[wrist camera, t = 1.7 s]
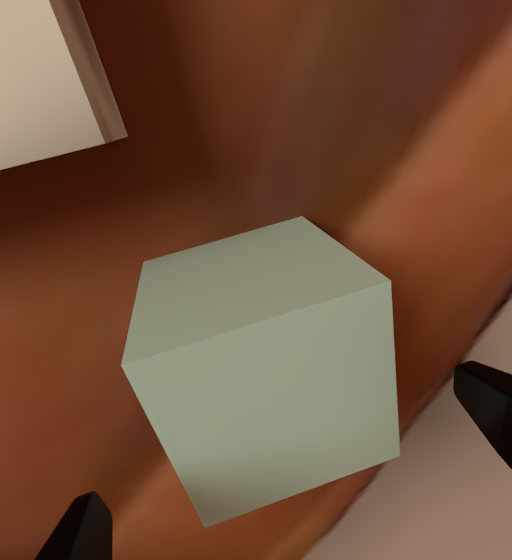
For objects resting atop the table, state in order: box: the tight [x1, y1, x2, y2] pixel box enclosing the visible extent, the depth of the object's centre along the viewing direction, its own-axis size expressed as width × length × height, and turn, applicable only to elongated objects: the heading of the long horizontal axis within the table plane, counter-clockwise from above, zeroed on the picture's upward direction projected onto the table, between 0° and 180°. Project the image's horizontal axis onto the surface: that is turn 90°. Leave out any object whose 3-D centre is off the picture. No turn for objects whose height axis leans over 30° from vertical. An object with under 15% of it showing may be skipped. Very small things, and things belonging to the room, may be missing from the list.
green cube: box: [121, 216, 400, 528], centre depth 11 cm, size 6×6×6 cm
